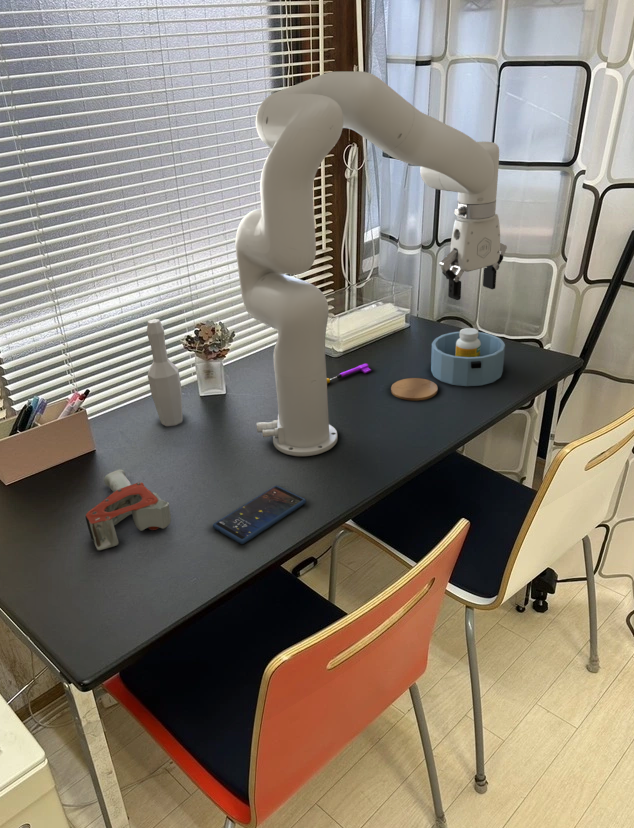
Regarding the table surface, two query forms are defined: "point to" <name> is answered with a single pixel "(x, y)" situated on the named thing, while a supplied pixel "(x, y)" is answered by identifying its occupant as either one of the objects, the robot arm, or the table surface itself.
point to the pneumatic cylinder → (353, 371)
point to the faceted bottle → (164, 378)
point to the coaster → (414, 389)
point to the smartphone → (259, 514)
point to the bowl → (467, 361)
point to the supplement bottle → (468, 343)
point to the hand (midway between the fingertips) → (471, 293)
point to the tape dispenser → (125, 510)
